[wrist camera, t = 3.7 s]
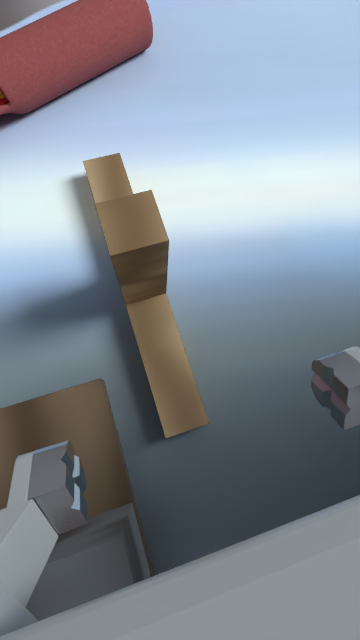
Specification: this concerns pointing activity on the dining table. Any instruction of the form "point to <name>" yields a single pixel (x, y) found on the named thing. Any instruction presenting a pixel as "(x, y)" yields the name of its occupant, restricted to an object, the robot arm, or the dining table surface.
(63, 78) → the artery
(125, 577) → the stand
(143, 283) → the oak bar
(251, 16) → the dining table surface
